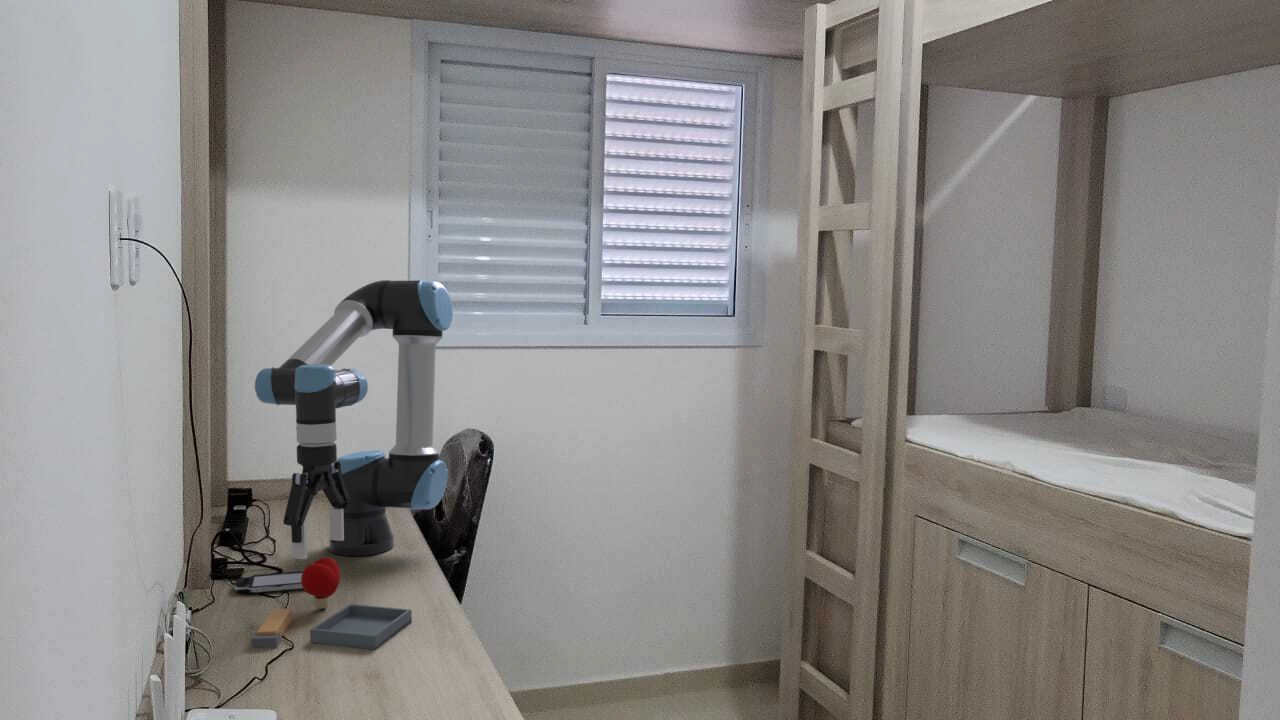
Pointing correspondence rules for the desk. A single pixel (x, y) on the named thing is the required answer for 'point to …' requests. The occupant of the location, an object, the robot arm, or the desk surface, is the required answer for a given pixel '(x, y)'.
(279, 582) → the gaming console
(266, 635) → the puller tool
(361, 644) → the parts tray
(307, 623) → the desk surface
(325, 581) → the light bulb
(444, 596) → the desk surface
